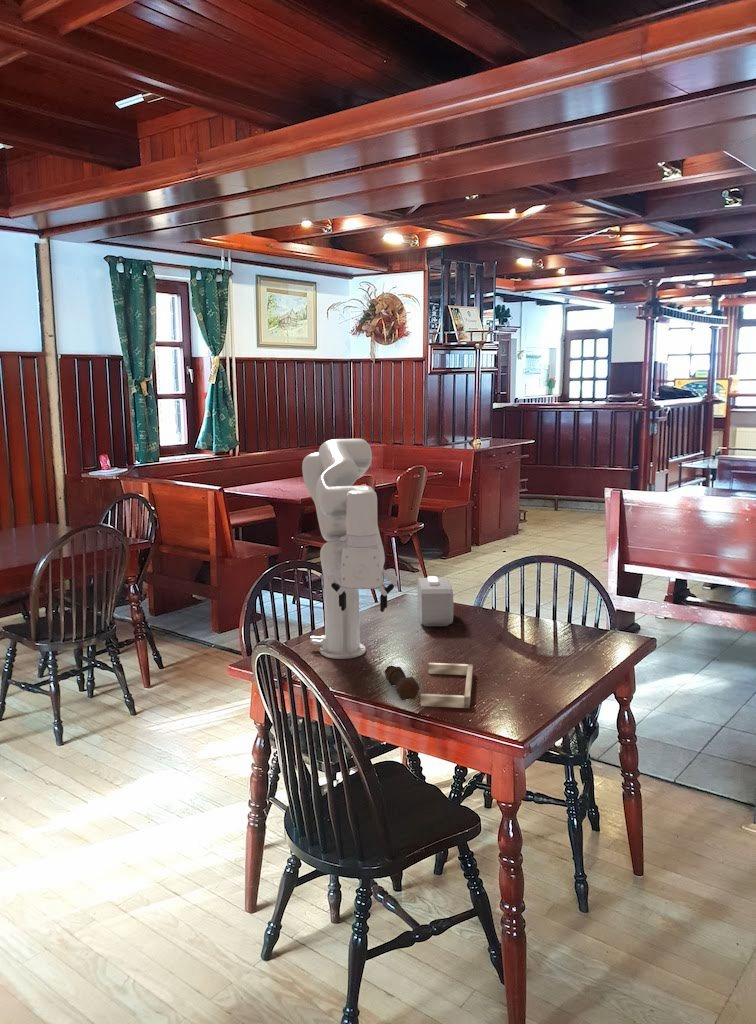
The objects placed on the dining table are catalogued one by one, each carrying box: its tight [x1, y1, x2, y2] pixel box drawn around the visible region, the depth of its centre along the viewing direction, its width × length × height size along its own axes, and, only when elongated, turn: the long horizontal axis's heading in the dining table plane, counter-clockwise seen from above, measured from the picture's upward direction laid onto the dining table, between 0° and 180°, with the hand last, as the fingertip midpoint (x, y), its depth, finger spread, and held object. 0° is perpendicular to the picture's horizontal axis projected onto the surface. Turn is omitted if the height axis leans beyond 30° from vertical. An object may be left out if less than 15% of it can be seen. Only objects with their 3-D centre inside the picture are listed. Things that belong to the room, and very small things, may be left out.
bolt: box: [384, 665, 421, 701], centre depth 199 cm, size 6×5×15 cm
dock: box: [420, 662, 474, 709], centre depth 198 cm, size 11×22×2 cm, turn 172°
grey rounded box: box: [416, 575, 454, 627], centre depth 254 cm, size 21×10×13 cm, turn 1°
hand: (363, 609), depth 200 cm, fingers open, 9 cm apart
